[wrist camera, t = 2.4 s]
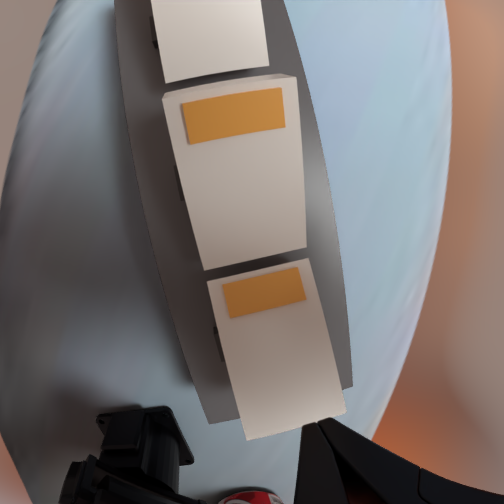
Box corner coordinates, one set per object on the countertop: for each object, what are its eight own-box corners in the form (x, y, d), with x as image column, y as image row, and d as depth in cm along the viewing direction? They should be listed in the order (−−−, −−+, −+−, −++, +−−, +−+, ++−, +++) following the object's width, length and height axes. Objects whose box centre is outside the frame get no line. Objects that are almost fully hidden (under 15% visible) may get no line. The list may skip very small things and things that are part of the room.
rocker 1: (259, 64, 13) (270, 66, 12) (167, 80, 13) (165, 83, 11) (241, -60, 9) (250, -74, 8) (146, -46, 9) (142, -59, 7)
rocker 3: (335, 404, 14) (348, 413, 12) (245, 428, 13) (246, 442, 11) (300, 266, 15) (309, 256, 13) (210, 287, 15) (206, 280, 13)
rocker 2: (293, 225, 15) (308, 249, 13) (200, 246, 15) (204, 273, 13) (280, 73, 11) (298, 77, 9) (164, 93, 10) (161, 99, 9)
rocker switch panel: (331, 385, 23) (359, 427, 17) (218, 414, 22) (222, 464, 17) (255, -11, 17) (269, -56, 11) (128, 11, 16) (110, -31, 10)
